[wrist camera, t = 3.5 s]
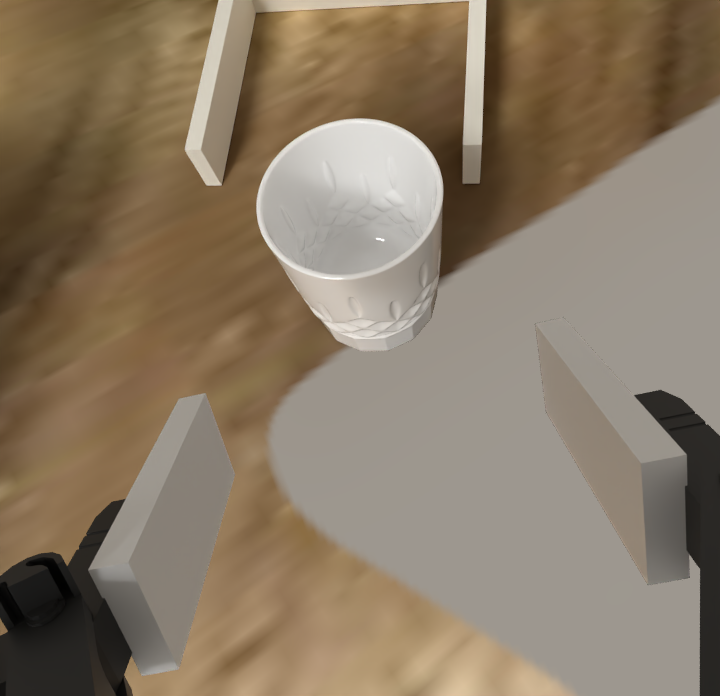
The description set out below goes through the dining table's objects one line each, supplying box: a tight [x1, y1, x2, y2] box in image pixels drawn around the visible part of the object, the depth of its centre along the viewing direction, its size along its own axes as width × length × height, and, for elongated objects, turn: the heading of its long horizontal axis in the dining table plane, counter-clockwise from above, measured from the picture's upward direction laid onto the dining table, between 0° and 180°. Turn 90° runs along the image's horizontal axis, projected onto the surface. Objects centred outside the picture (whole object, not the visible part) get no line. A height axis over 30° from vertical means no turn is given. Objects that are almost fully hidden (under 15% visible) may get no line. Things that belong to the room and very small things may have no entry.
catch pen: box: [185, 0, 486, 186], centre depth 40 cm, size 16×17×4 cm
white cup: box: [257, 119, 443, 351], centre depth 31 cm, size 8×8×10 cm
